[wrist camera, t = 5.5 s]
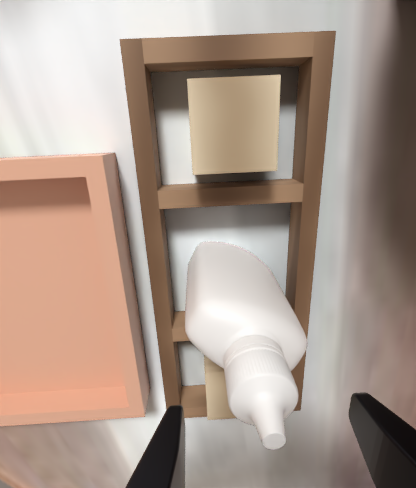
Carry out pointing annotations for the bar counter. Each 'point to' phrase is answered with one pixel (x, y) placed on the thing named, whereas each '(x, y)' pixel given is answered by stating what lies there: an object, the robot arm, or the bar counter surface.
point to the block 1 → (234, 123)
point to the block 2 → (216, 392)
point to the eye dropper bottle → (245, 334)
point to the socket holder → (229, 193)
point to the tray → (67, 294)
